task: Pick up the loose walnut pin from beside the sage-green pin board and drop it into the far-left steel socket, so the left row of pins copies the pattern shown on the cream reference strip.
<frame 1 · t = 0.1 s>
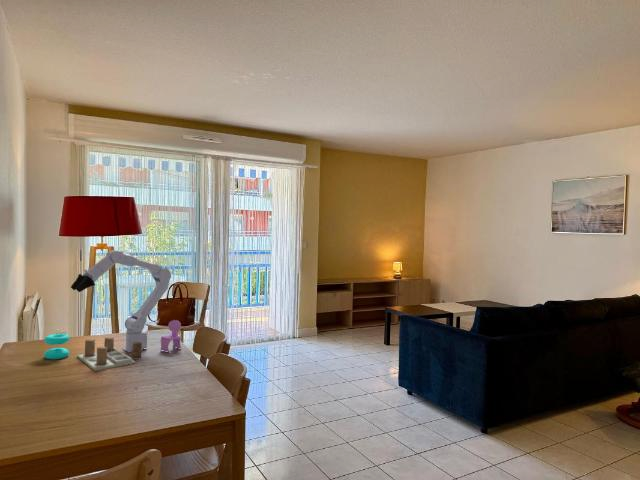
hand: (74, 289, 197), 32 cm above the table, tool tilted 50°, fingers open, 7 cm apart
pin board: (105, 360, 199), on the table
walnut pin: (136, 357, 205), on the table
toy chair: (170, 351, 219), on the table
donuts: (56, 357, 201), on the table
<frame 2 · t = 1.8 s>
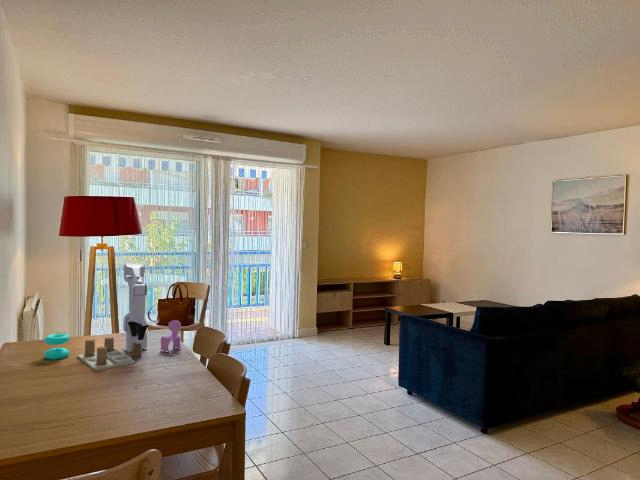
hand: (137, 338, 205), 9 cm above the table, tool pointing down, fingers open, 7 cm apart
nothing on the table moved.
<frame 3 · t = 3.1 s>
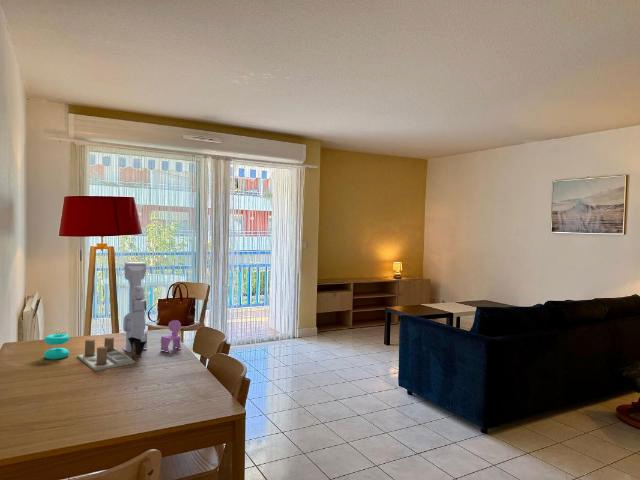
hand: (136, 353, 205), 2 cm above the table, tool pointing down, fingers closed on walnut pin, 4 cm apart
walnut pin: (136, 357, 205), on the table, touching gripper
everything else where it was.
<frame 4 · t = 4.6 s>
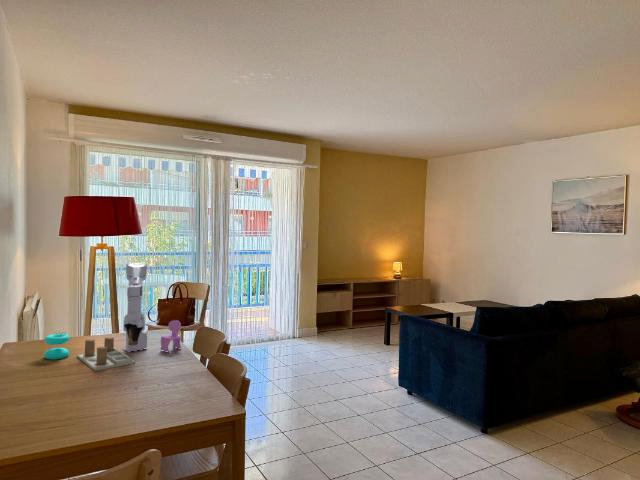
hand: (133, 340, 202), 9 cm above the table, tool pointing down, fingers closed on walnut pin, 4 cm apart
walnut pin: (133, 344, 202), point 7 cm above the table, touching gripper
everything else where it was.
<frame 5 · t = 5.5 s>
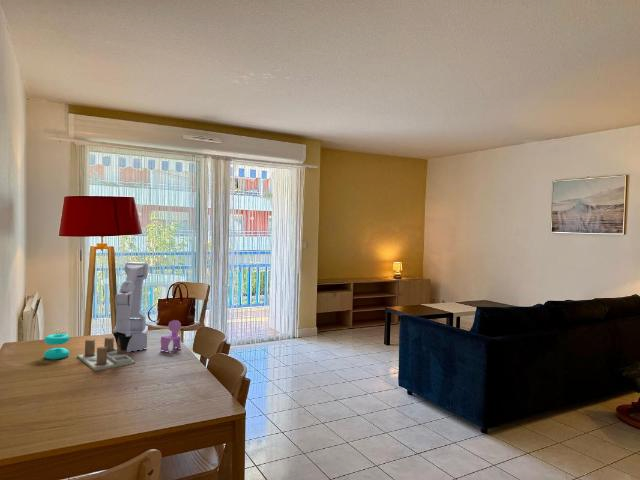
hand: (121, 349, 196), 6 cm above the table, tool pointing down, fingers closed on walnut pin, 4 cm apart
walnut pin: (121, 353, 196), point 4 cm above the table, touching gripper
everything else where it was.
when the fingers open (4 cm above the table, at t = 6.3 s): walnut pin drops 1 cm, resting on pin board.
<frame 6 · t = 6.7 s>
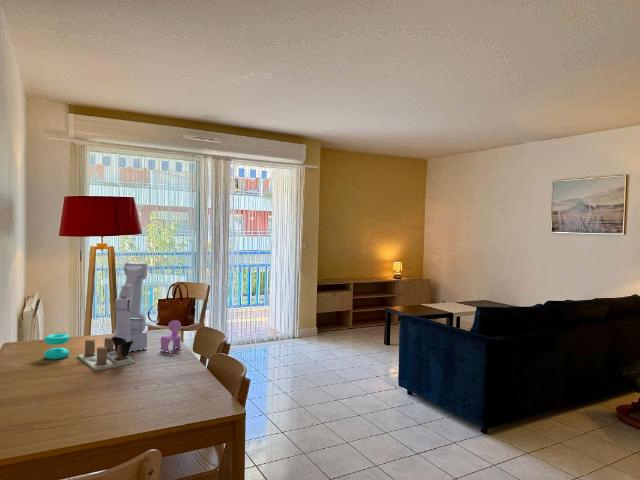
hand: (121, 354, 196), 4 cm above the table, tool pointing down, fingers open, 7 cm apart
walnut pin: (121, 360, 196), point 1 cm above the table, touching pin board
everything else where it was.
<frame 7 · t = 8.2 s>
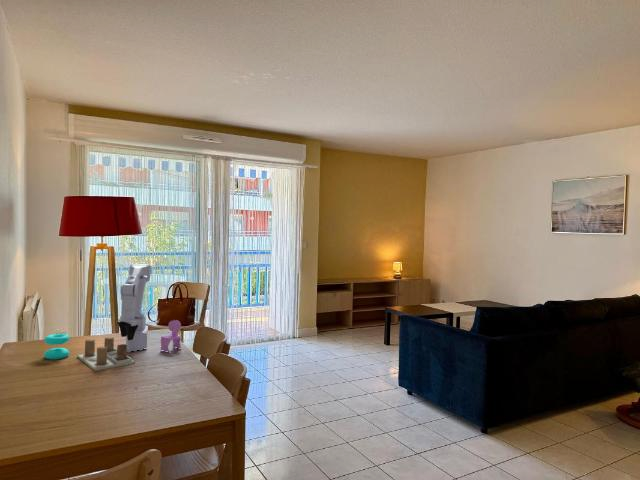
hand: (127, 338, 203), 9 cm above the table, tool pointing down, fingers open, 7 cm apart
nothing on the table moved.
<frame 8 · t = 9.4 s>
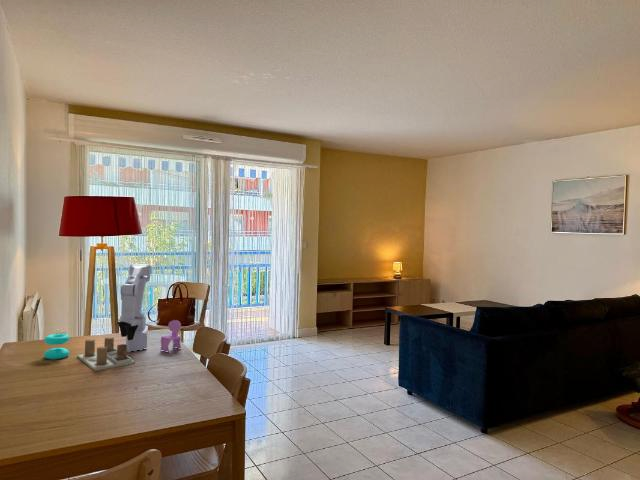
hand: (127, 338, 203), 9 cm above the table, tool pointing down, fingers open, 7 cm apart
nothing on the table moved.
at the end: walnut pin 0.1 cm from the target spot on the pin board, point 1.0 cm above the pin board's base; walnut pin tilted 0°; the gripper is holding nothing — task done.
